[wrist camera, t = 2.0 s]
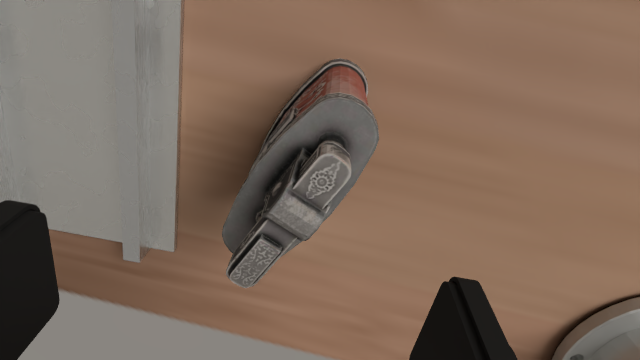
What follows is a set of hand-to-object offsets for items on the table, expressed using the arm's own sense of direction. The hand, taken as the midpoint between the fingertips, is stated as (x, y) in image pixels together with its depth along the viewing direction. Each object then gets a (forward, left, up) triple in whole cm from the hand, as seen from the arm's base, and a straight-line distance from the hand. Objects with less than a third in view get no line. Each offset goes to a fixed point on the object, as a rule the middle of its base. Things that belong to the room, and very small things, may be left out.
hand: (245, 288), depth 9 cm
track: (+12, +1, -13) cm, 18 cm away
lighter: (-1, 0, -13) cm, 13 cm away
